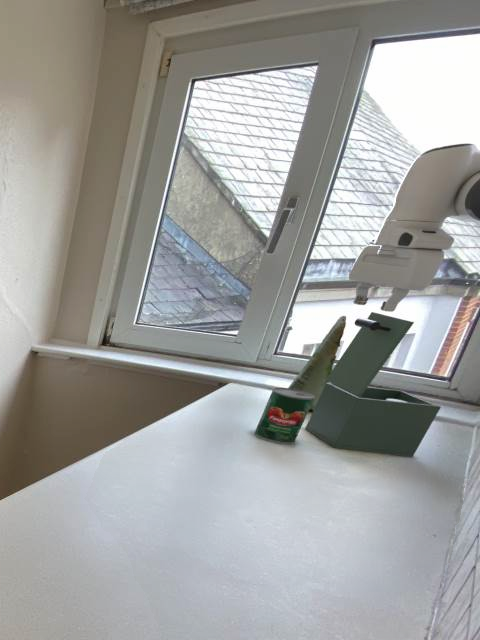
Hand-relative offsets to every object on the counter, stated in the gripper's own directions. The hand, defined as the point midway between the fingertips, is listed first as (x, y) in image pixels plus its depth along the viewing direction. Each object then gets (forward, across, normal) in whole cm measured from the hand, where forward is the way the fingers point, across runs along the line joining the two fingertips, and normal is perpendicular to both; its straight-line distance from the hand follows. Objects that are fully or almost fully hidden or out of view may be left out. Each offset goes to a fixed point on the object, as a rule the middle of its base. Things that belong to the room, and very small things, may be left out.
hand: (372, 307), depth 117 cm
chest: (+30, 0, +9) cm, 31 cm away
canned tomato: (+30, +4, -10) cm, 32 cm away
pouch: (+30, -27, +10) cm, 42 cm away
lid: (+10, 0, +3) cm, 10 cm away
